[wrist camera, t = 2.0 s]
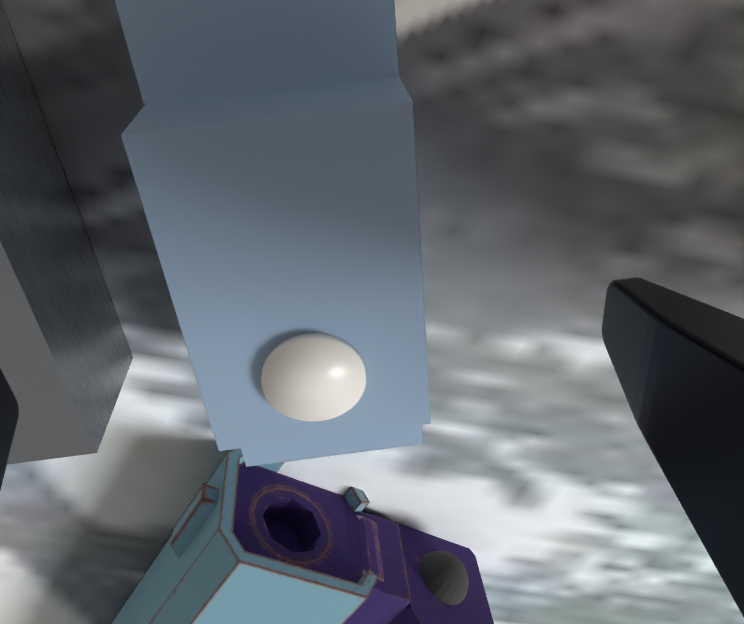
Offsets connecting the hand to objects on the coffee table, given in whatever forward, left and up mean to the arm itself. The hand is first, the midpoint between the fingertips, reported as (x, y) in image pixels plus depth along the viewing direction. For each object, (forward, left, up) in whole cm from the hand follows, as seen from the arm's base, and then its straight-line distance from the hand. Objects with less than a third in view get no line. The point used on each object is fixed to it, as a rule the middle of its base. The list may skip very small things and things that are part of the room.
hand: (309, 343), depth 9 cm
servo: (0, 0, -6) cm, 6 cm away
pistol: (+3, +18, -7) cm, 19 cm away
